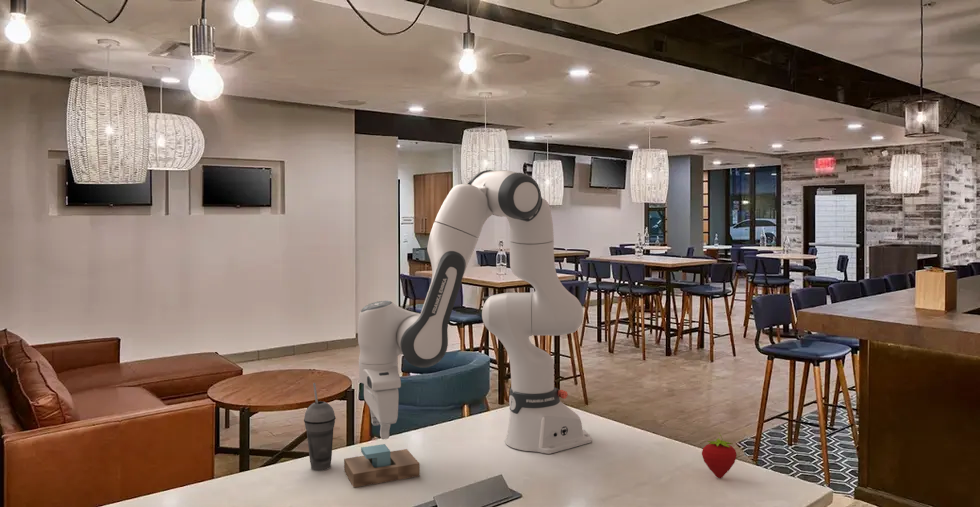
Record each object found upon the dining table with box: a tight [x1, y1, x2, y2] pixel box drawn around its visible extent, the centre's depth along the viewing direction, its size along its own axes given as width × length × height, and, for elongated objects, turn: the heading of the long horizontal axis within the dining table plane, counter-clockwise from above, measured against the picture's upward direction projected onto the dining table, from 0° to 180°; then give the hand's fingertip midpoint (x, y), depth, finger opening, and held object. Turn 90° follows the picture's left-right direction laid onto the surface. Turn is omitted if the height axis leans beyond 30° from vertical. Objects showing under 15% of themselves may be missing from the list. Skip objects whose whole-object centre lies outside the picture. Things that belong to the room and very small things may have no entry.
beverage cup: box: [303, 382, 336, 472], centre depth 155 cm, size 7×7×20 cm
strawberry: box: [701, 432, 738, 479], centre depth 147 cm, size 6×8×10 cm
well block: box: [343, 448, 421, 488], centre depth 151 cm, size 15×10×3 cm, turn 114°
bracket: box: [360, 443, 391, 468], centre depth 151 cm, size 6×5×6 cm
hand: (380, 431), depth 152 cm, fingers open, 8 cm apart
